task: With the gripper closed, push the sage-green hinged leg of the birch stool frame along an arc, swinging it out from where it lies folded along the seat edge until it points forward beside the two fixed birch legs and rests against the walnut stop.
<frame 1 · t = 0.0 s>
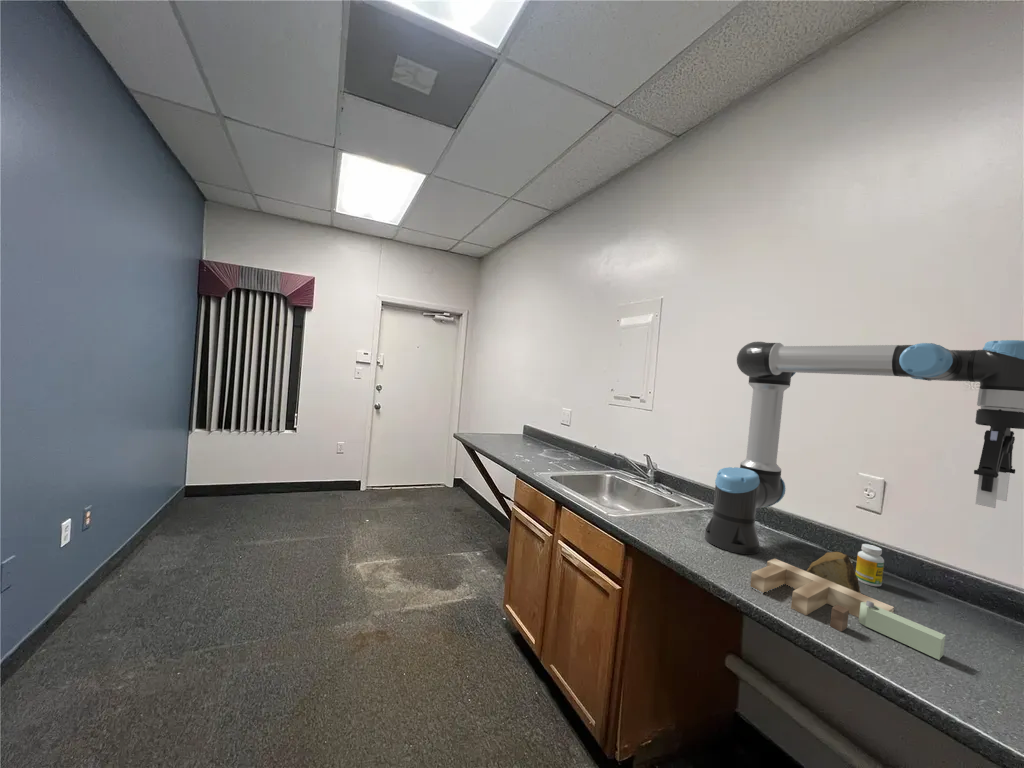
hand: (991, 502, 89), 28 cm above the table, tool pointing down, fingers open, 13 cm apart
hinged leg: (898, 626, 81), point 3 cm above the table, hinge at 0.0°
rock: (829, 585, 103), on the table
stool frame: (822, 598, 96), on the table
supplement bottle: (867, 582, 106), on the table
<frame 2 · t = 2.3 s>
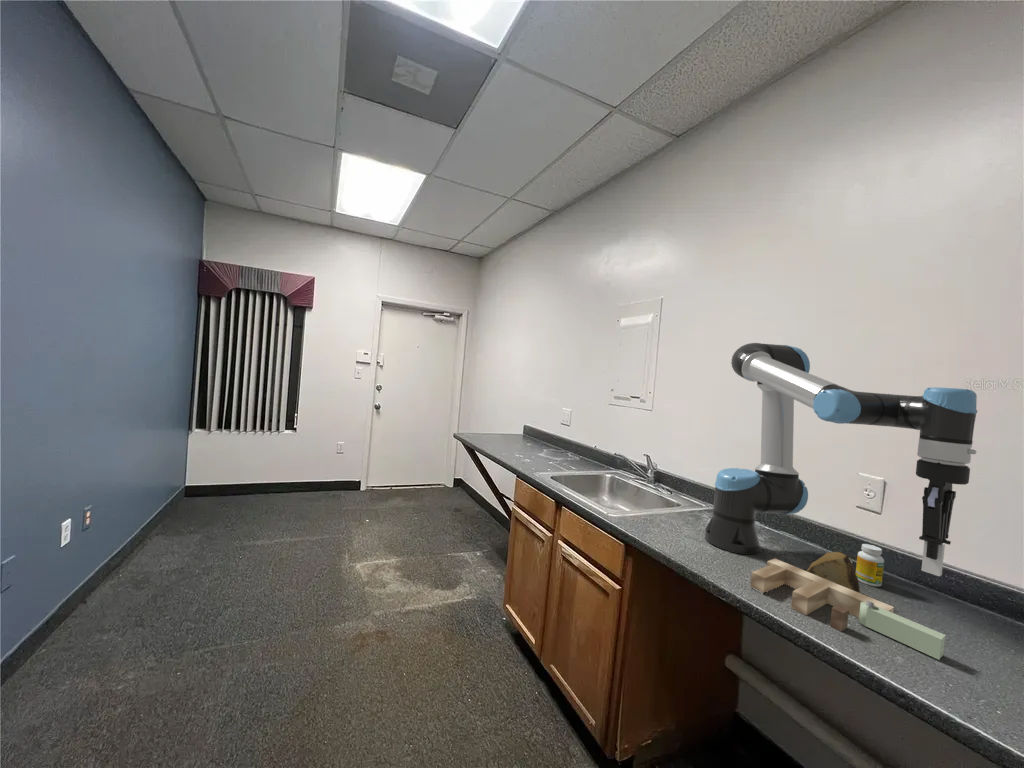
hand: (931, 572, 83), 14 cm above the table, tool pointing down, fingers closed
nothing on the table moved.
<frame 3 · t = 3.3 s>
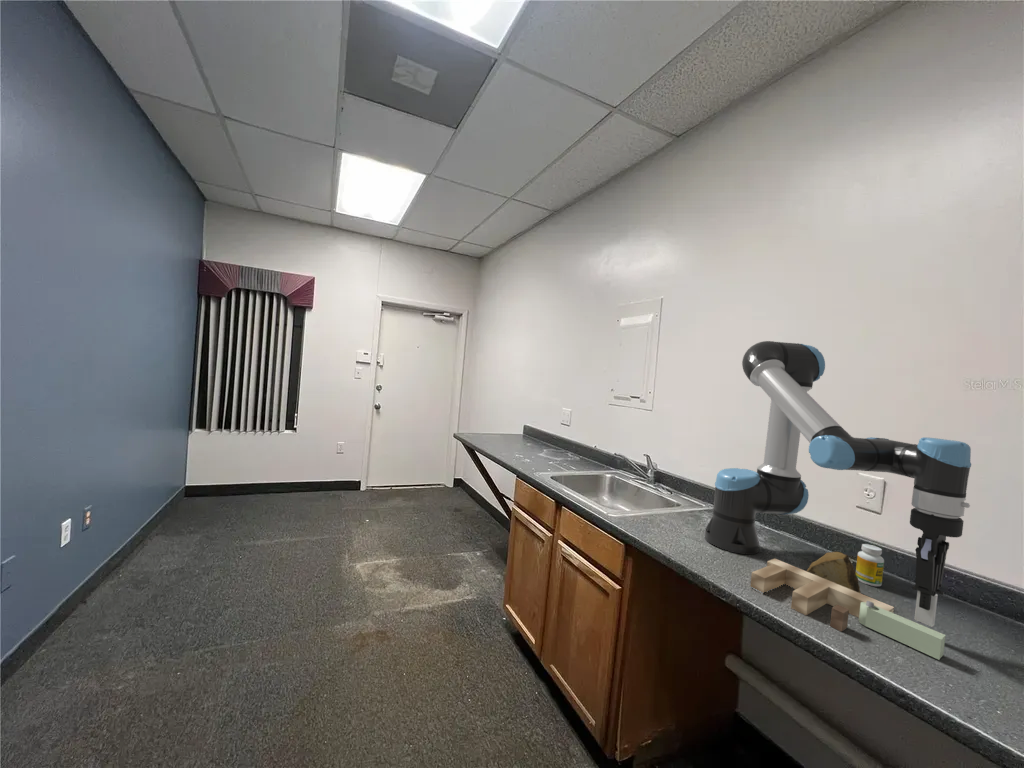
hand: (924, 622, 83), 3 cm above the table, tool pointing down, fingers closed
nothing on the table moved.
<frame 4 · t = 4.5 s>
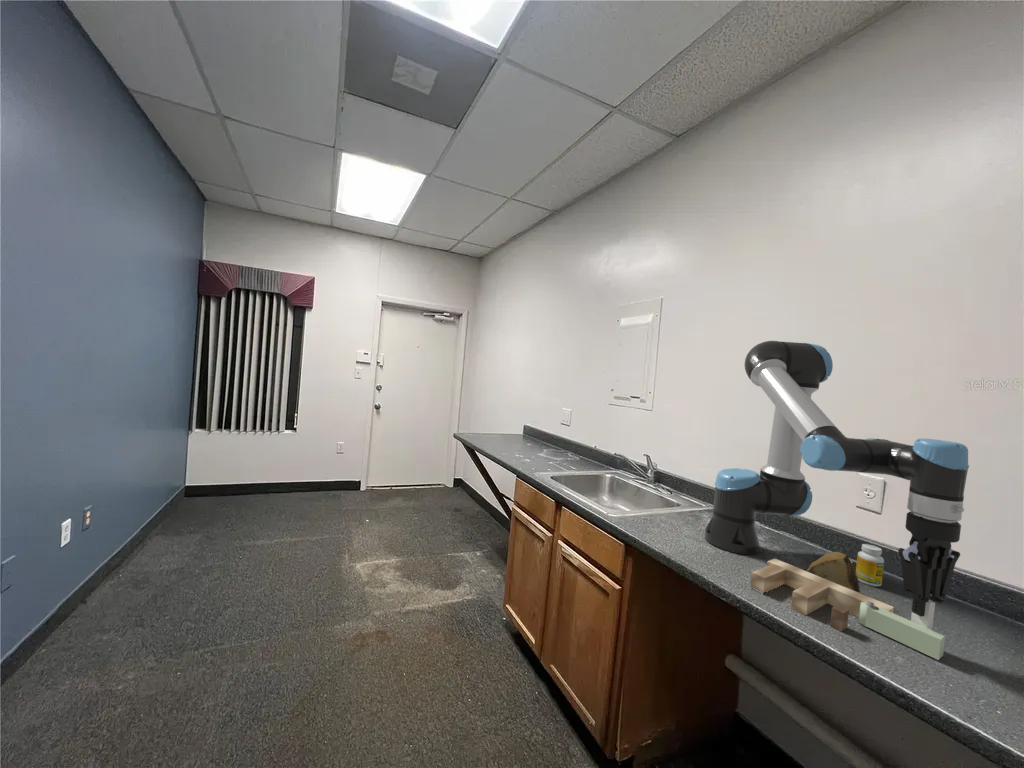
hand: (920, 629, 80), 3 cm above the table, tool pointing down, fingers closed
hinged leg: (898, 626, 81), point 3 cm above the table, hinge at 1.4°, touching gripper
everything else where it was.
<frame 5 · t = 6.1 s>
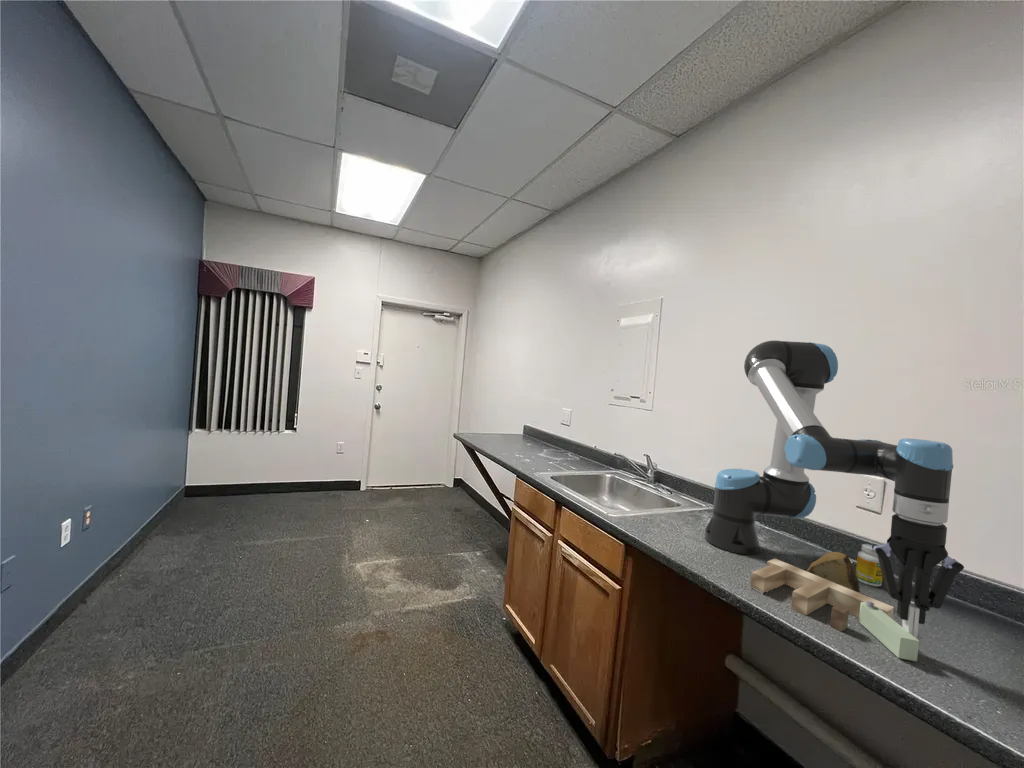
hand: (909, 636, 78), 3 cm above the table, tool pointing down, fingers closed
hinged leg: (885, 626, 81), point 3 cm above the table, hinge at 43.5°, touching gripper
everything else where it was.
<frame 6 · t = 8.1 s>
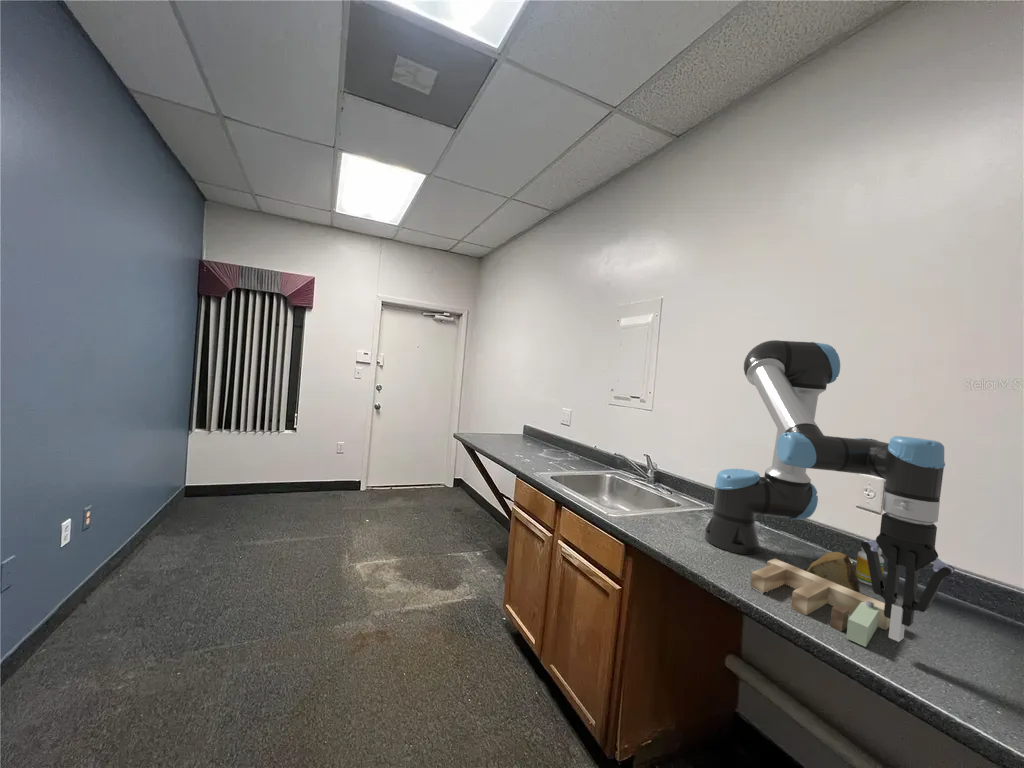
hand: (896, 637, 76), 3 cm above the table, tool pointing down, fingers closed
hinged leg: (864, 620, 82), point 3 cm above the table, hinge at 83.6°
everything else where it was.
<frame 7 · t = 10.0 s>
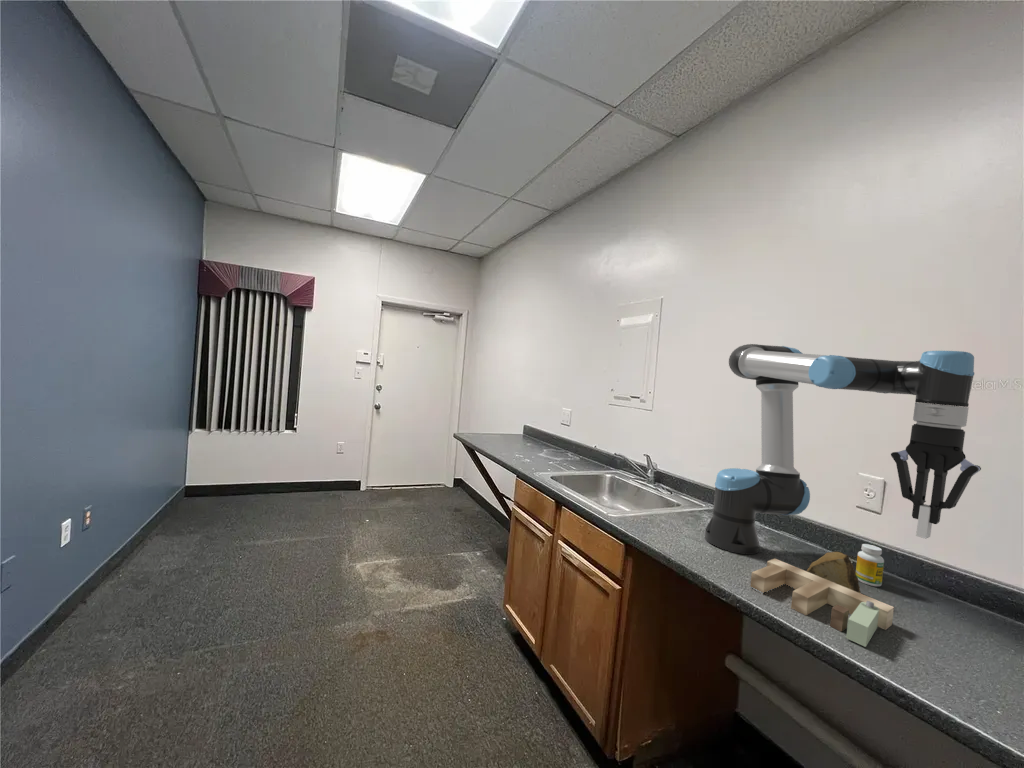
hand: (923, 536, 83), 21 cm above the table, tool pointing down, fingers closed
nothing on the table moved.
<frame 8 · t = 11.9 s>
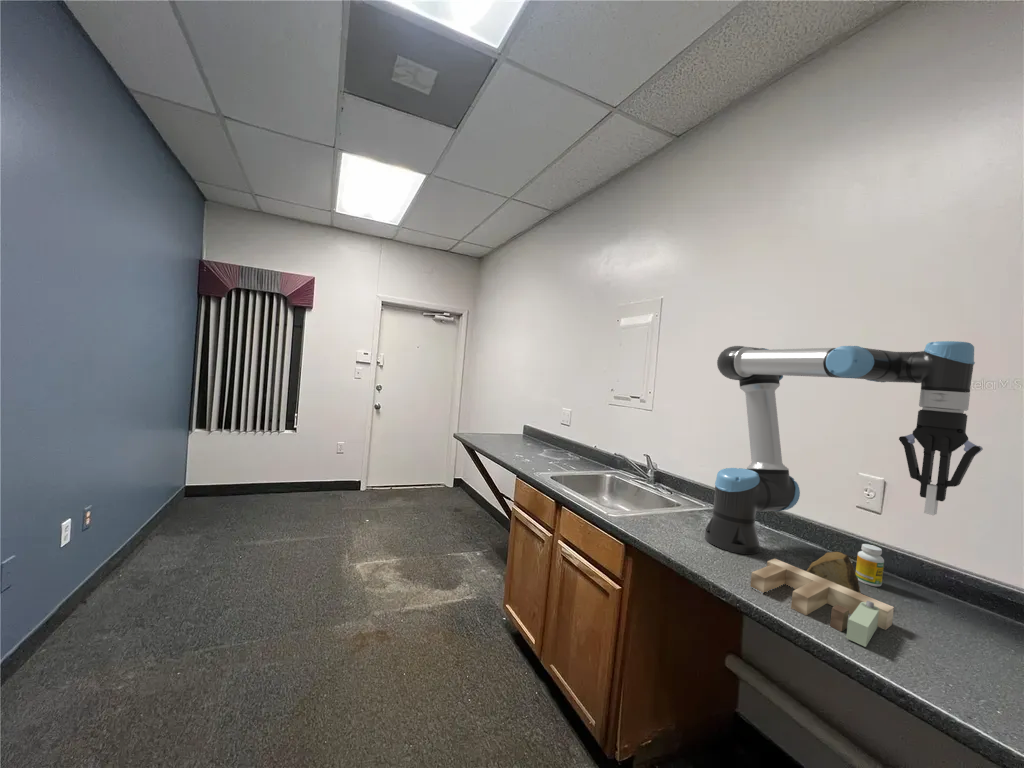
hand: (930, 513, 89), 24 cm above the table, tool pointing down, fingers closed
nothing on the table moved.
at the end: hinged leg at +84° (first picture: +0°); rock moved 0.3 cm from its start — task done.
